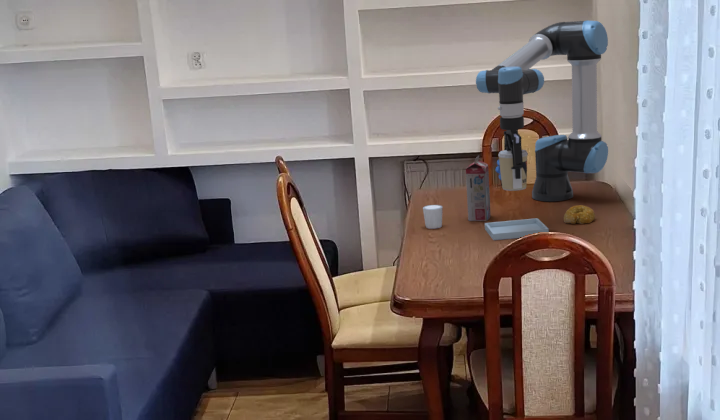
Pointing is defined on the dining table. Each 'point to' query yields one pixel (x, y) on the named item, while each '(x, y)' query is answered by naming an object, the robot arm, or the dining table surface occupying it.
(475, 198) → the juice carton
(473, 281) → the dining table surface
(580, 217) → the bagel
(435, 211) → the white tapered cylinder
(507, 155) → the coffee cup
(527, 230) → the tray
